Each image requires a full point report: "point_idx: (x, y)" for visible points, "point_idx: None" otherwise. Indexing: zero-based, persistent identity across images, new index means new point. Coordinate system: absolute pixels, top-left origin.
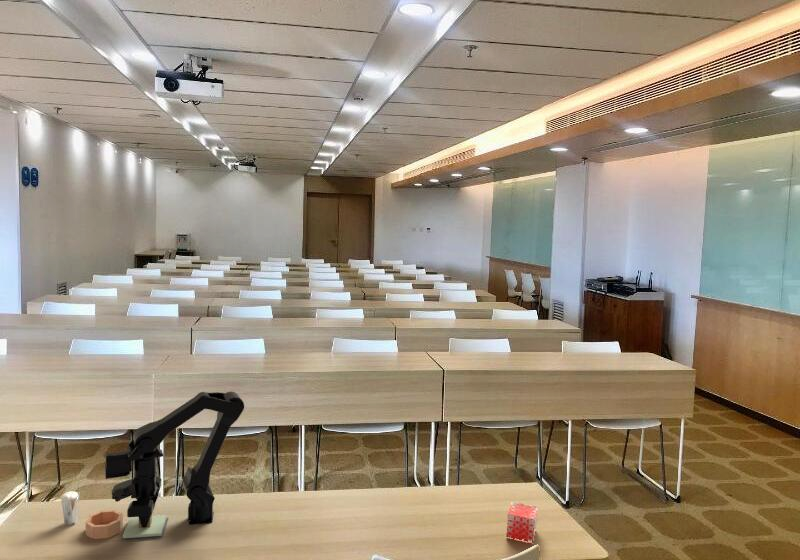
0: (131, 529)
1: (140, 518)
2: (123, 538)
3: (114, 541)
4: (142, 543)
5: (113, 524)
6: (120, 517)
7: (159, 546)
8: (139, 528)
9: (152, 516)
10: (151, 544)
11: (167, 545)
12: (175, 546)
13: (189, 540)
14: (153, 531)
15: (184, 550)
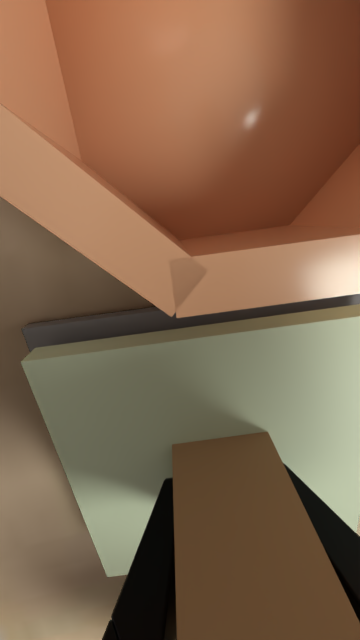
0: (147, 398)
1: (112, 631)
2: (67, 338)
3: (38, 264)
4: (47, 461)
5: (66, 234)
6: (280, 291)
7: (32, 541)
8: (165, 450)
9: (353, 479)
10: (45, 505)
11: (50, 566)
12: (47, 592)
13: (108, 618)
14: (121, 540)
15: (20, 622)
